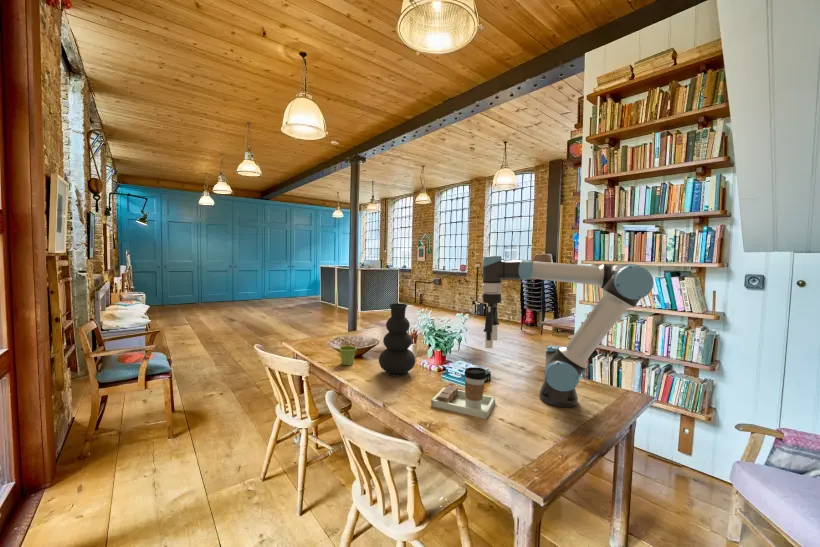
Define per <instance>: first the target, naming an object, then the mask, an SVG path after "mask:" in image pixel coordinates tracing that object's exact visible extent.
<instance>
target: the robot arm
mask: <svg viewBox="0 0 820 547" xmlns="http://www.w3.org/2000/svg"><path fill="white" fill-rule="evenodd" d="M503 279H504V280H522V281H524V280H532V279H535V280H536V279H537V280H543V281H555V282H561V283H562V282H563V283H572V284H582V285H591V286H596V287H598V288H599V289H602V294H603V295H602V296H601V298H600V299H599V301H597V303H596V305H595V306H594V308H593V309H592V310H591V312H590V313H589V314H588V316H587V317H586V318H585V319H584V321H583V322H582V323H581V325H580V326H579V328H578V329H577V330H576V332H575V333H574V334H573V336H572V337H571V338H570V339H569V341H568V342H567V343H566V345H565V346H564V345H563V346H562V345H548V346H546V348H545V352H544V353H545V360H544V361H545V362H544V364H545V365H544V380H543V383H542V384H541V387H540V390H539V395H538V397H539V400H541V401H542V402H543V403H546V404H548V405H551V406H554V407H559V408H574V407H577V405H578V404H579V403H578V401H579V397H578V394H577V390H576V387H577V386H578V385H579V382H580V377H581V375H582V374H583V373H584V372H585V371H586V369H587V368H588V365H587V360H588V359H589V358H590V356H591V355H592V354H593V353H594V352H595V350H596V349H597V347H598V346H599V345H600V344H601V342H602V341H603V340H604V339H605V337H606V336H607V334H608V333H609V332H610V331H611V330H612V328H613V327H614V325H616V323H617V322H618V321H619V319H620V318H621V317H622V315H624V313H625V311H627V310H628V309H633V308H635V307H636V305H637V304H638V303H639V301H641V299H643V298H646V297H647V296H648V295H649V294H650V293H651V292H652V290H653V288H654V278H653V276H652V273H651V272H650V271H649V270H648V269H647V268H645V267H643V266H641V265H639V264H633V263H632V264H630V263H620V264H604V263H603V264H600V266H596V265H586V264H585V265H584V264H573V263H561V262H560V263H559V262H551V261H550V262H547V261H538V260H525V259H517V260H503V258H502V256H501V255H485V256H484V257H483V260H482V284H481V287H482V292H483V294H482V302H483V303H485V304H487V306H486V307H485V312H486V313H485V320H484V321H485V324H484V329H483V332H485V349H493V348H494V347H493V343H494V341H498V326H499V325H500V323H499V320H498V319H499V318H498V304H500V303H501V302H502V283H503V282H502V280H503Z"/></svg>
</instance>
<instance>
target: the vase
mask: <svg viewBox="0 0 820 547" xmlns="http://www.w3.org/2000/svg"><path fill="white" fill-rule="evenodd" d="M407 307H408V304H407V303H397V302H395V303H389V308H390V317H389V318H388V319H387V320H386V322H385V327H386V328H385V329H386V330H387V331H388V332H386V334H385V335H384V337H383V342H382V343H383V345H384V347H385V349H383V351H382V352H380V354H379V356H378V363H379V366H380V368H381V369H382V370H383V371H385V374H387V375H388V376H392V377H402V376H407V375H408V373H409V372H410V371H411V370H413V368H414V367H415V364H416V357H415V354H414V353H413V351H412V350H410V349H409V348H410V347H411V346H412V342H413V340H412V337H411V335H410V334H409V333H408V331H409V330H410V327H411V324H410V321H409V320H408V318H407V317H406V309H407Z"/></svg>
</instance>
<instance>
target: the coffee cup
mask: <svg viewBox="0 0 820 547" xmlns="http://www.w3.org/2000/svg"><path fill="white" fill-rule="evenodd" d="M464 377H465V380H464V391H465V397H466V407H471V408H475V409H480V408H481V402H482V396H483V395H484V389H485V379H486V378H487V370H486V369H485V368H483V367H476V366H474V367H472V366H471V367H466V368H465V370H464Z"/></svg>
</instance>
